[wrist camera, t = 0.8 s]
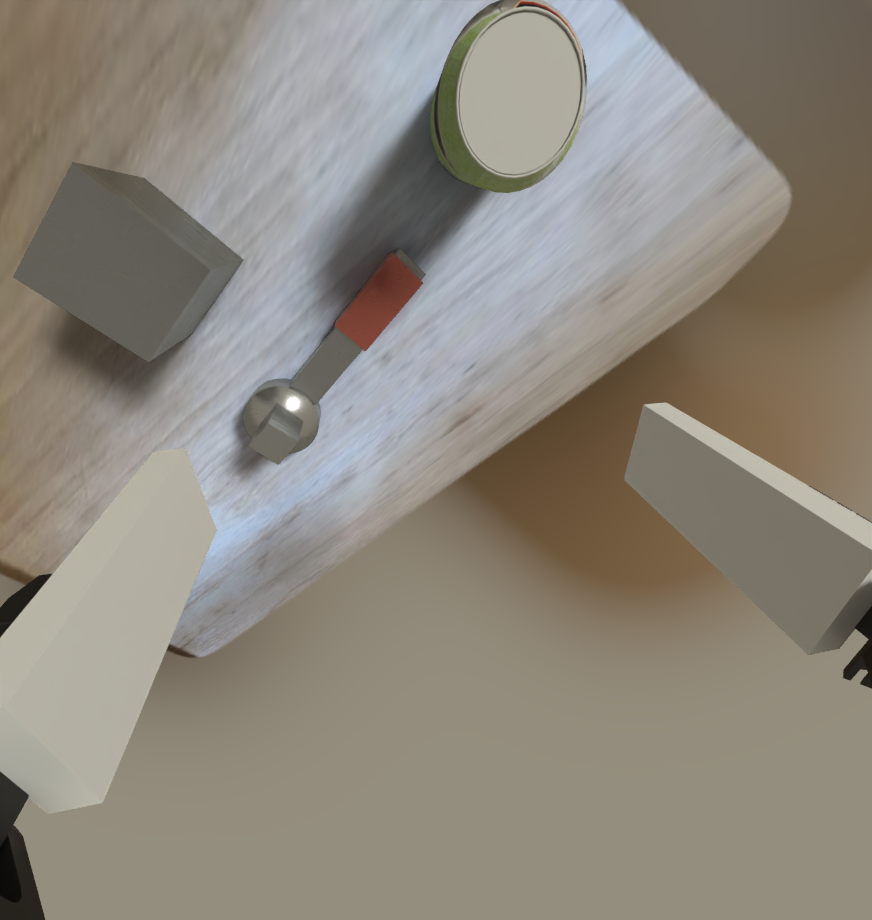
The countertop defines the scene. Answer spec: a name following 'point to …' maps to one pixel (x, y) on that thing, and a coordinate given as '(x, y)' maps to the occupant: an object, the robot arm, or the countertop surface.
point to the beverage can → (509, 96)
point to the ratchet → (328, 362)
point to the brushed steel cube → (126, 260)
